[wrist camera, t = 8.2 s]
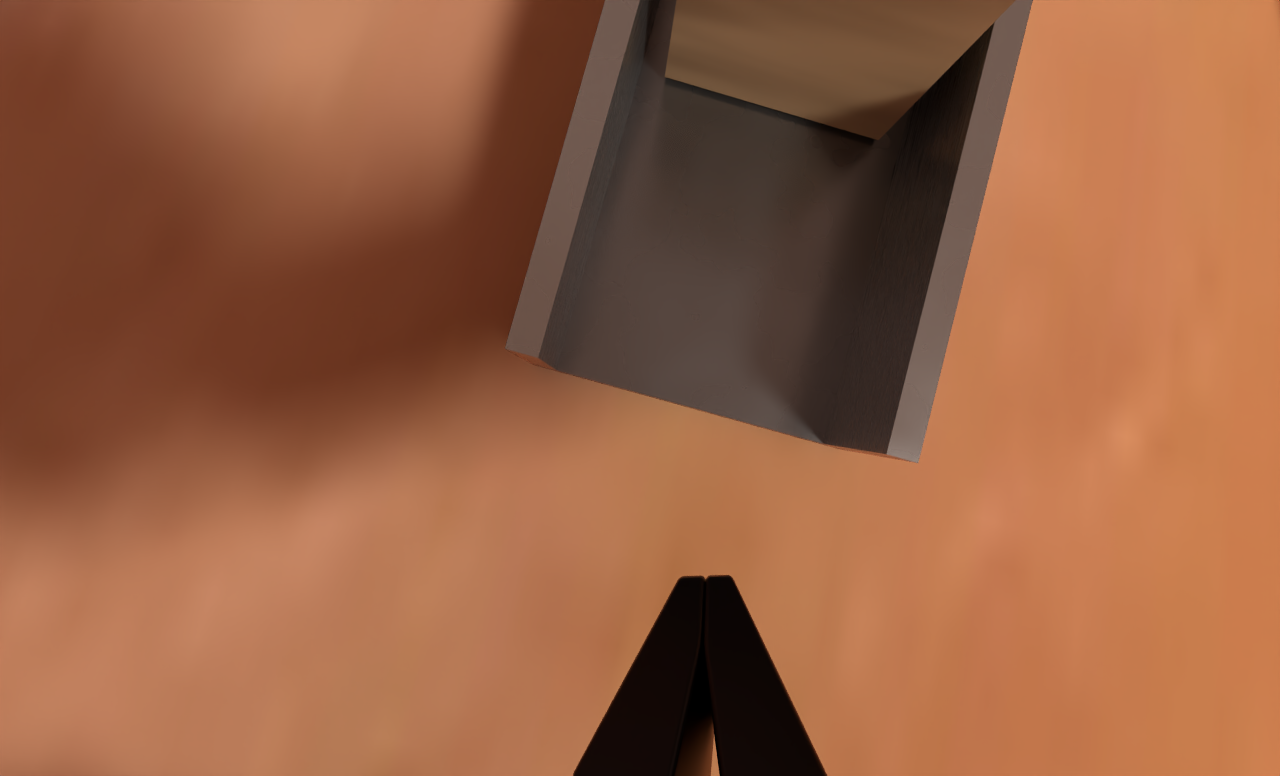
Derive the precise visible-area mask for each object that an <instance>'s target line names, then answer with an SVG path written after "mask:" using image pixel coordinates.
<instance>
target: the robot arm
mask: <svg viewBox="0 0 1280 776" xmlns="http://www.w3.org/2000/svg"><path fill="white" fill-rule="evenodd" d="M714 736H715V743H716V751H717V758H718V766H719V774H720V776H827V774H826V772H825V770H824V768H823V766H822V764H821V762H820V759H819V757H818V755H817V753H816V751H815V749H814V747H813V745H812V743H811V741H810V738H809V736H808V734H807V732H806V730H805V728H804V726H803V724H802V722H801V720H800V718H799V715H798V713H797V711H796V709H795V707H794V705H793V703H792V701H791V699H790V697H789V695H788V692H787V690H786V688H785V686H784V684H783V682H782V680H781V678H780V676H779V674H778V671H777V669H776V667H775V665H774V663H773V661H772V659H771V657H770V655H769V653H768V651H767V648H766V646H765V644H764V642H763V640H762V638H761V636H760V634H759V632H758V630H757V628H756V625H755V623H754V621H753V619H752V617H751V615H750V613H749V611H748V609H747V607H746V604H745V602H744V600H743V598H742V596H741V594H740V592H739V590H738V588H737V586H736V584H735V581H734V580H733V578H732V577H731V576H729V575H711V576H708V577H707V578H706V579H705V578H704V577H703V576H683V577H681V578H679V579H678V581H677V583H676V584H675V586H674V588H673V590H672V592H671V594H670V595H669V597H668V599H667V601H666V603H665V605H664V607H663V608H662V610H661V612H660V614H659V616H658V618H657V619H656V621H655V623H654V625H653V627H652V629H651V631H650V632H649V634H648V636H647V638H646V640H645V642H644V644H643V645H642V647H641V649H640V651H639V653H638V655H637V656H636V658H635V660H634V662H633V664H632V666H631V668H630V669H629V671H628V673H627V675H626V677H625V679H624V680H623V682H622V684H621V686H620V688H619V690H618V692H617V693H616V695H615V697H614V699H613V701H612V703H611V705H610V706H609V708H608V710H607V712H606V714H605V716H604V717H603V719H602V721H601V723H600V725H599V727H598V729H597V730H596V732H595V734H594V736H593V738H592V740H591V741H590V743H589V745H588V747H587V749H586V751H585V753H584V754H583V756H582V758H581V760H580V762H579V764H578V766H577V767H576V769H575V771H574V773H573V776H711V764H712V751H713V738H714Z"/></svg>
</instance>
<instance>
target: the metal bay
mask: <svg viewBox="0 0 1280 776" xmlns="http://www.w3.org/2000/svg"><path fill="white" fill-rule="evenodd" d="M1032 1H1033V0H1016V1H1015V2H1014V3H1013V4H1012V5H1011V6H1010V7H1009V8H1008V9H1007V10H1006V11H1005V12H1004V13H1003V14H1002V15H1001V16H1000V17H999V18H998V19H997V20H996V21H995V22H994V23H993V24H992V25H991V26H990V27H989V28H988V29H987V30H986V31H985V32H984V33H983V34H982V35H981V36H980V37H979V38H978V39H977V40H976V41H975V42H974V43H973V44H972V45H971V46H970V47H969V48H968V49H967V50H966V51H965V52H964V54H963V55H962V56H961V57H960V58H959V59H958V60H957V61H956V62H955V63H954V64H953V65H952V66H951V67H950V68H949V69H948V70H947V71H946V72H945V73H944V74H943V75H942V76H941V77H940V78H939V79H938V80H937V81H936V82H935V83H934V84H933V85H932V86H931V87H930V88H929V89H928V90H927V91H926V92H925V93H924V94H923V95H922V96H921V97H920V98H919V99H918V100H917V101H916V102H915V103H914V104H913V105H912V107H911V108H910V109H909V110H908V111H907V112H906V113H905V114H904V115H903V116H902V117H901V118H900V119H899V120H898V121H897V122H896V123H895V124H894V125H893V126H892V127H891V128H890V129H889V130H888V131H887V132H886V133H885V134H884V135H883V136H882V137H881V138H880V139H879V140H876V139H873V138H869V137H866V136H862V135H859V134H856V133H852V132H849V131H846V130H842V129H839V128H835V127H832V126H829V125H825V124H822V123H819V122H815V121H812V120H809V119H805V118H802V117H798V116H795V115H792V114H788V113H785V112H782V111H778V110H775V109H771V108H768V107H765V106H761V105H758V104H755V103H751V102H748V101H744V100H741V99H738V98H734V97H731V96H728V95H724V94H721V93H717V92H714V91H711V90H707V89H704V88H701V87H697V86H694V85H691V84H687V83H684V82H680V81H677V80H674V79H670V78H667V77H665V72H666V66H667V59H668V53H669V46H670V39H671V33H672V26H673V20H674V13H675V6H676V0H605V2H604V6H603V9H602V13H601V16H600V20H599V23H598V27H597V30H596V34H595V37H594V41H593V44H592V48H591V51H590V55H589V58H588V62H587V65H586V68H585V72H584V75H583V79H582V82H581V86H580V89H579V93H578V96H577V100H576V103H575V107H574V110H573V114H572V117H571V121H570V124H569V127H568V131H567V134H566V138H565V141H564V145H563V148H562V152H561V155H560V159H559V162H558V166H557V169H556V173H555V176H554V180H553V183H552V186H551V190H550V193H549V197H548V200H547V204H546V207H545V211H544V214H543V218H542V221H541V225H540V228H539V232H538V235H537V239H536V242H535V246H534V249H533V252H532V256H531V259H530V263H529V266H528V270H527V273H526V277H525V280H524V284H523V287H522V291H521V294H520V298H519V301H518V305H517V308H516V311H515V315H514V318H513V322H512V325H511V329H510V332H509V336H508V339H507V343H506V346H505V349H506V350H508V351H510V352H512V353H513V354H515V355H517V356H519V357H521V358H522V359H524V360H526V361H528V362H530V363H532V364H533V365H537V366H541V367H544V368H548V369H551V370H555V371H559V372H562V373H566V374H570V375H573V376H577V377H580V378H584V379H588V380H591V381H595V382H598V383H602V384H606V385H609V386H613V387H617V388H620V389H624V390H627V391H631V392H635V393H638V394H642V395H646V396H649V397H653V398H656V399H660V400H664V401H667V402H671V403H675V404H678V405H682V406H685V407H689V408H693V409H696V410H700V411H704V412H707V413H711V414H714V415H718V416H722V417H725V418H729V419H733V420H736V421H740V422H743V423H747V424H751V425H754V426H758V427H761V428H765V429H769V430H772V431H776V432H780V433H783V434H787V435H790V436H794V437H798V438H801V439H805V440H809V441H812V442H816V443H819V444H823V445H827V446H830V447H834V448H838V449H842V450H847V451H853V452H858V453H864V454H870V455H875V456H881V457H887V458H892V459H898V460H904V461H909V462H915V463H918V461H919V457H920V453H921V449H922V445H923V441H924V437H925V433H926V429H927V425H928V421H929V417H930V413H931V409H932V405H933V401H934V397H935V393H936V389H937V385H938V381H939V377H940V373H941V369H942V365H943V361H944V356H945V352H946V348H947V344H948V340H949V336H950V332H951V328H952V324H953V320H954V316H955V312H956V308H957V304H958V300H959V296H960V292H961V288H962V284H963V280H964V276H965V272H966V268H967V264H968V260H969V256H970V252H971V247H972V243H973V239H974V235H975V231H976V227H977V223H978V219H979V215H980V211H981V207H982V203H983V199H984V195H985V191H986V187H987V183H988V179H989V175H990V171H991V167H992V163H993V159H994V155H995V151H996V147H997V142H998V138H999V134H1000V130H1001V126H1002V122H1003V118H1004V114H1005V110H1006V106H1007V102H1008V98H1009V94H1010V90H1011V86H1012V82H1013V78H1014V74H1015V70H1016V66H1017V62H1018V58H1019V54H1020V50H1021V46H1022V42H1023V38H1024V33H1025V29H1026V25H1027V21H1028V17H1029V13H1030V9H1031V5H1032Z"/></svg>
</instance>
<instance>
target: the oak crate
mask: <svg viewBox="0 0 1280 776" xmlns="http://www.w3.org/2000/svg"><path fill="white" fill-rule="evenodd" d="M1015 1H1016V0H676V6H675V13H674V20H673V26H672V33H671V39H670V46H669V53H668V59H667V66H666V72H665V77H667V78H670V79H674V80H677V81H680V82H684V83H687V84H691V85H694V86H697V87H701V88H704V89H707V90H711V91H714V92H717V93H721V94H724V95H728V96H731V97H734V98H738V99H741V100H744V101H748V102H751V103H755V104H758V105H761V106H765V107H768V108H771V109H775V110H778V111H782V112H785V113H788V114H792V115H795V116H798V117H802V118H805V119H809V120H812V121H815V122H819V123H822V124H825V125H829V126H832V127H835V128H839V129H842V130H846V131H849V132H852V133H856V134H859V135H862V136H866V137H869V138H873V139H876V140H879V139H880V138H881V137H882V136H883V135H884V134H885V133H886V132H887V131H888V130H889V129H890V128H891V127H892V126H893V125H894V124H895V123H896V122H897V121H898V120H899V119H900V118H901V117H902V116H903V115H904V114H905V113H906V112H907V111H908V110H909V109H910V108H911V107H912V105H913V104H914V103H915V102H916V101H917V100H918V99H919V98H920V97H921V96H922V95H923V94H924V93H925V92H926V91H927V90H928V89H929V88H930V87H931V86H932V85H933V84H934V83H935V82H936V81H937V80H938V79H939V78H940V77H941V76H942V75H943V74H944V73H945V72H946V71H947V70H948V69H949V68H950V67H951V66H952V65H953V64H954V63H955V62H956V61H957V60H958V59H959V58H960V57H961V56H962V55H963V54H964V52H965V51H966V50H967V49H968V48H969V47H970V46H971V45H972V44H973V43H974V42H975V41H976V40H977V39H978V38H979V37H980V36H981V35H982V34H983V33H984V32H985V31H986V30H987V29H988V28H989V27H990V26H991V25H992V24H993V23H994V22H995V21H996V20H997V19H998V18H999V17H1000V16H1001V15H1002V14H1003V13H1004V12H1005V11H1006V10H1007V9H1008V8H1009V7H1010V6H1011V5H1012V4H1013V3H1014V2H1015Z"/></svg>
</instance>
